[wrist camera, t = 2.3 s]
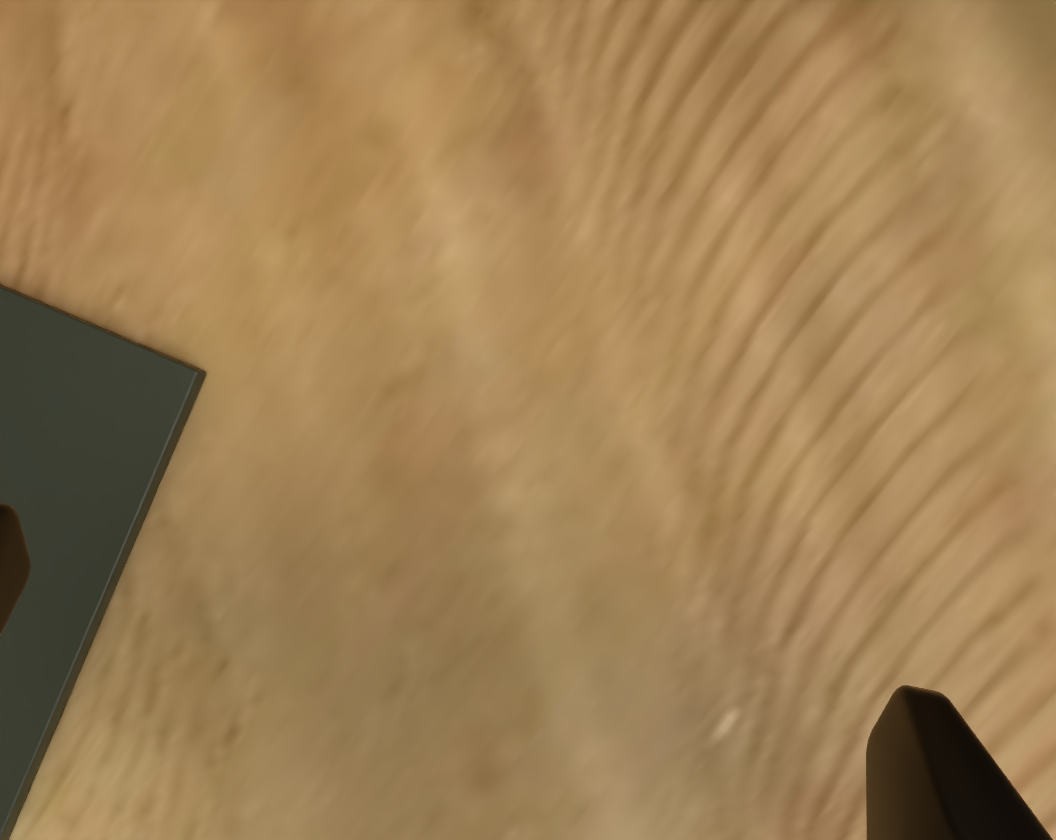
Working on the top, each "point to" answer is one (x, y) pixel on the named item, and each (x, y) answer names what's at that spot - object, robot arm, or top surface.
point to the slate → (71, 502)
